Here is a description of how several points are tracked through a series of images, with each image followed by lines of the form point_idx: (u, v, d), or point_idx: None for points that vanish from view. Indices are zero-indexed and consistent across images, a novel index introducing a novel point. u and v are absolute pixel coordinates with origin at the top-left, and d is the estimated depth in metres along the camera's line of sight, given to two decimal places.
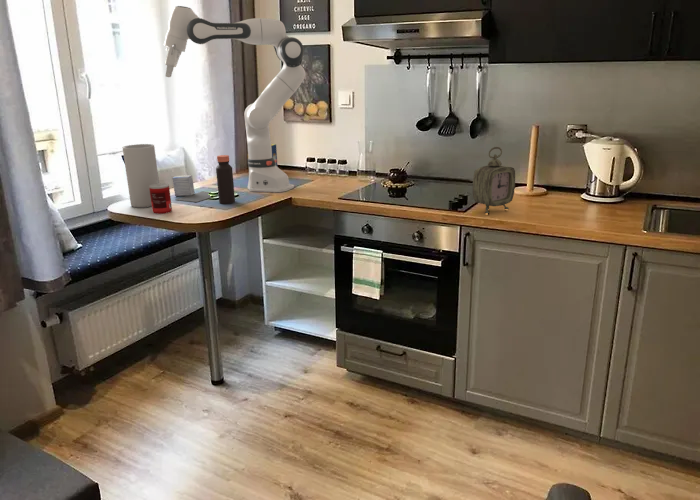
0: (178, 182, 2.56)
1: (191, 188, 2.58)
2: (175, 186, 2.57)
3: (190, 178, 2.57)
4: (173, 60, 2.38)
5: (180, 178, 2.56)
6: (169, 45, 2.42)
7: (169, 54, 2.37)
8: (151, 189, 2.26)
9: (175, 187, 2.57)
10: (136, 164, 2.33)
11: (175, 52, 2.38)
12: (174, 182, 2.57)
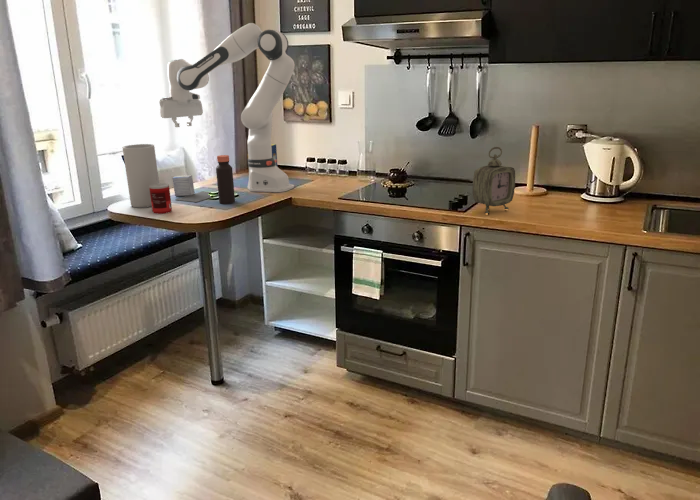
0: (178, 182, 2.56)
1: (191, 188, 2.58)
2: (175, 186, 2.57)
3: (190, 178, 2.57)
4: (162, 112, 2.59)
5: (180, 178, 2.56)
6: None
7: (160, 107, 2.60)
8: (151, 189, 2.26)
9: (175, 187, 2.57)
10: (136, 164, 2.33)
11: (163, 104, 2.58)
12: (174, 182, 2.57)
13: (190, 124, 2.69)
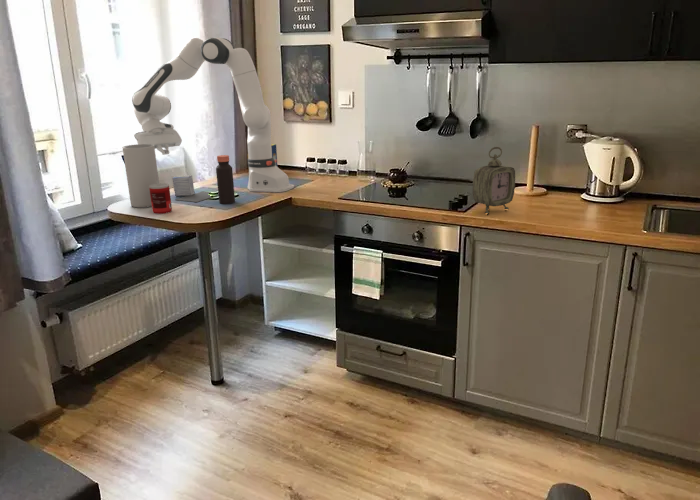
0: (178, 182, 2.56)
1: (191, 188, 2.58)
2: (175, 186, 2.57)
3: (190, 178, 2.57)
4: (139, 141, 2.59)
5: (180, 178, 2.56)
6: None
7: (137, 141, 2.61)
8: (151, 189, 2.26)
9: (175, 187, 2.57)
10: (136, 164, 2.33)
11: (138, 135, 2.60)
12: (174, 182, 2.57)
13: (167, 151, 2.64)
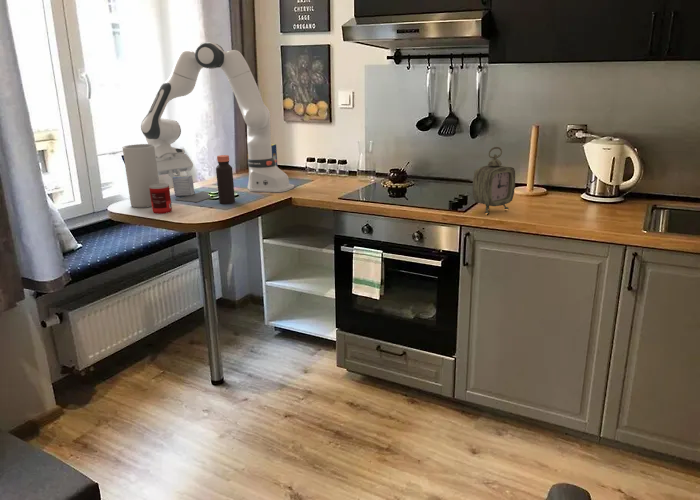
0: (178, 182, 2.56)
1: (191, 188, 2.58)
2: (175, 186, 2.57)
3: (190, 178, 2.57)
4: None
5: (180, 178, 2.56)
6: None
7: None
8: (151, 189, 2.26)
9: (175, 187, 2.57)
10: (136, 164, 2.33)
11: None
12: (174, 182, 2.57)
13: None
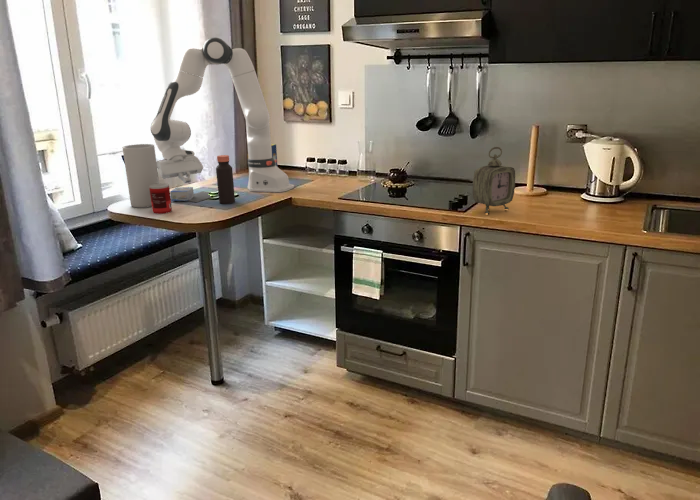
0: None
1: (192, 195, 2.53)
2: None
3: (189, 196, 2.49)
4: (160, 170, 2.50)
5: (180, 200, 2.49)
6: None
7: (158, 170, 2.52)
8: (151, 189, 2.26)
9: None
10: (136, 164, 2.33)
11: (159, 164, 2.51)
12: None
13: (189, 179, 2.56)
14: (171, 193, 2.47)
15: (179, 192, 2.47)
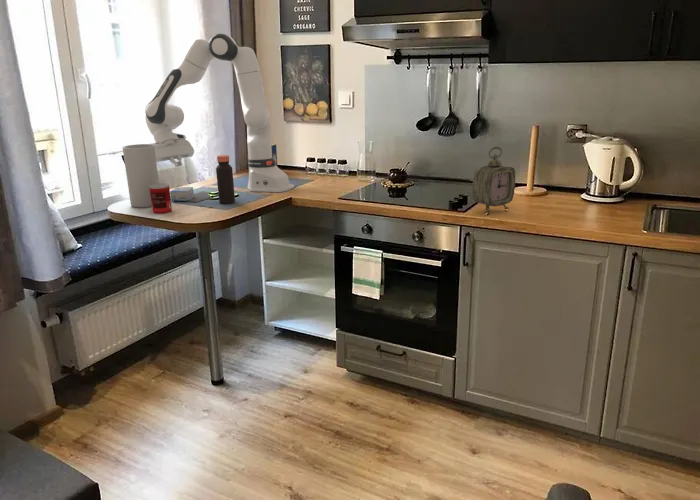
0: None
1: (192, 195, 2.53)
2: None
3: (189, 196, 2.49)
4: None
5: (180, 200, 2.49)
6: None
7: None
8: (151, 189, 2.26)
9: None
10: (136, 164, 2.33)
11: None
12: None
13: (180, 163, 2.60)
14: (171, 193, 2.47)
15: (179, 192, 2.47)
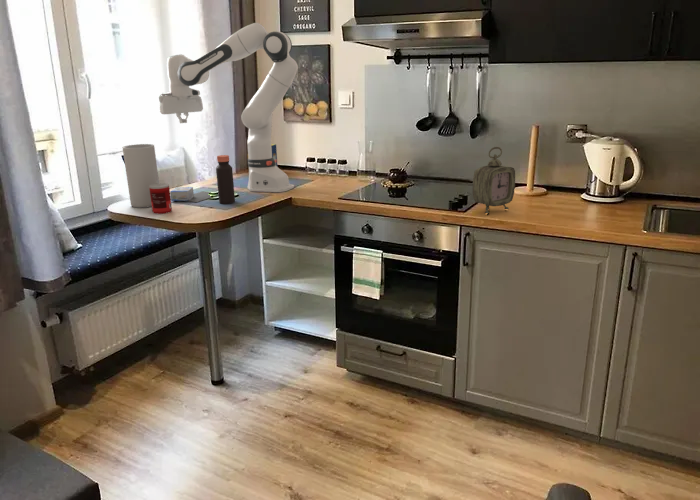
0: None
1: (192, 195, 2.53)
2: None
3: (189, 196, 2.49)
4: (162, 108, 2.55)
5: (180, 200, 2.49)
6: None
7: (160, 103, 2.56)
8: (151, 189, 2.26)
9: None
10: (136, 164, 2.33)
11: (163, 100, 2.55)
12: None
13: (185, 121, 2.65)
14: (171, 193, 2.47)
15: (179, 192, 2.47)
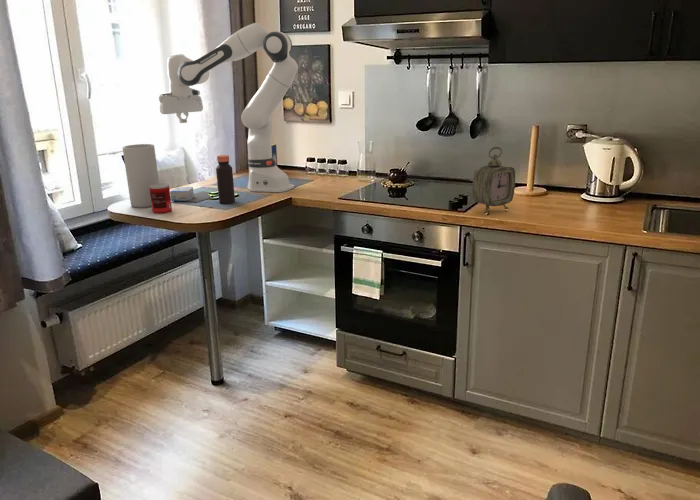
0: None
1: (192, 195, 2.53)
2: None
3: (189, 196, 2.49)
4: (162, 108, 2.55)
5: (180, 200, 2.49)
6: None
7: (160, 103, 2.56)
8: (151, 189, 2.26)
9: None
10: (136, 164, 2.33)
11: (163, 100, 2.55)
12: None
13: (185, 121, 2.65)
14: (171, 193, 2.47)
15: (179, 192, 2.47)
